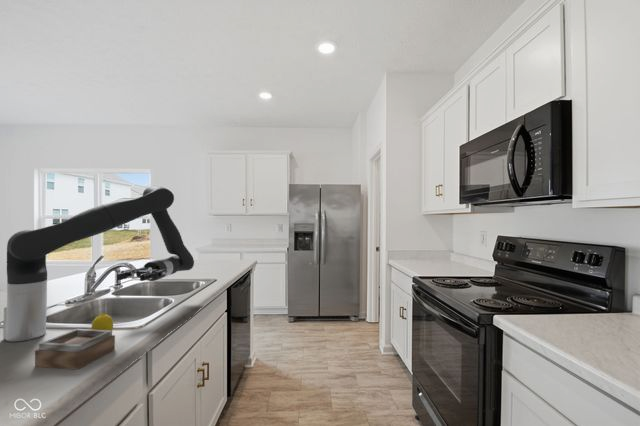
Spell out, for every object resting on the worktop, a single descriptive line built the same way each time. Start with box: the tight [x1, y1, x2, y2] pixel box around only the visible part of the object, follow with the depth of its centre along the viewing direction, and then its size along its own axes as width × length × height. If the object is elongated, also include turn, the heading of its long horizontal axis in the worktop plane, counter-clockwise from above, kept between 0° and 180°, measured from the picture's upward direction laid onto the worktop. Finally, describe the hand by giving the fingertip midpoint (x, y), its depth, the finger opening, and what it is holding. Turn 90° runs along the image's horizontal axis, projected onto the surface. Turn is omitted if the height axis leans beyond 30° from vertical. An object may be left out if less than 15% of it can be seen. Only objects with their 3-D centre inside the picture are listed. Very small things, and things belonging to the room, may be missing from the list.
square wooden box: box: [34, 328, 116, 370], centre depth 85 cm, size 12×12×6 cm
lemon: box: [91, 313, 114, 332], centre depth 97 cm, size 6×6×8 cm
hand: (129, 277), depth 109 cm, fingers open, 8 cm apart
